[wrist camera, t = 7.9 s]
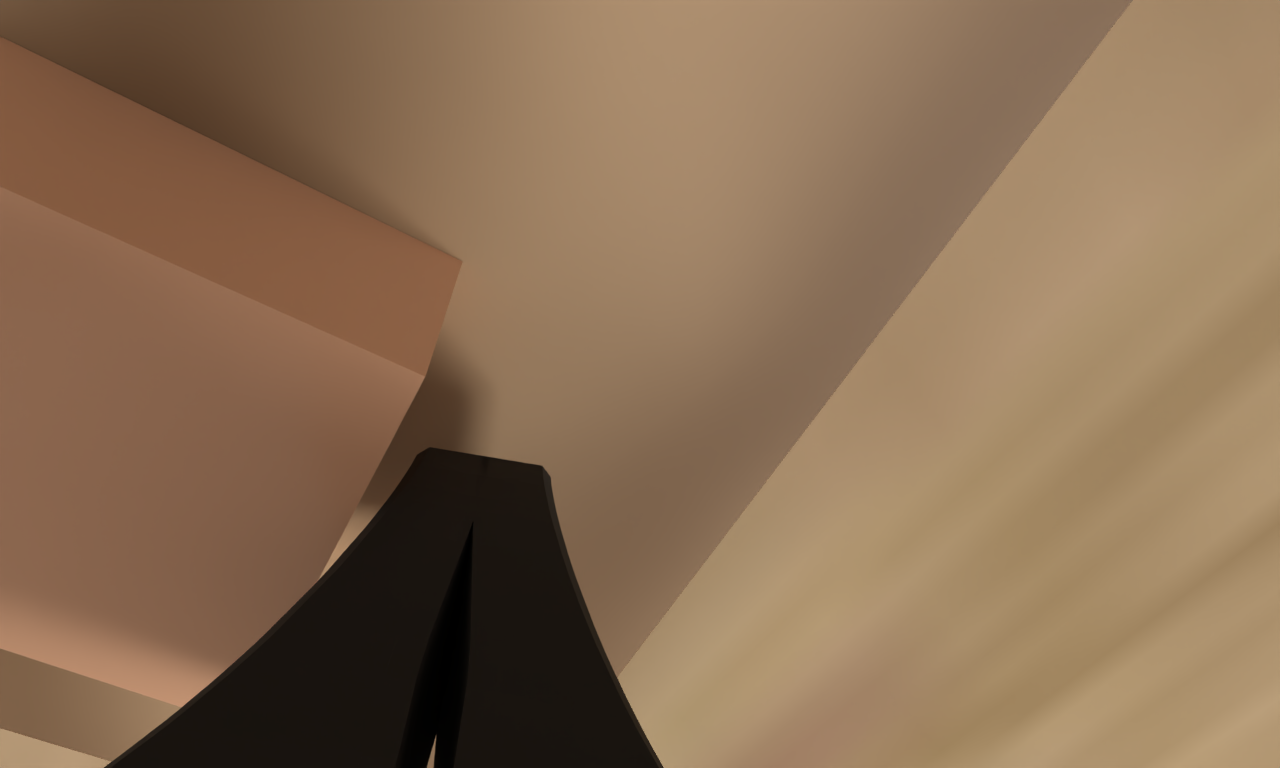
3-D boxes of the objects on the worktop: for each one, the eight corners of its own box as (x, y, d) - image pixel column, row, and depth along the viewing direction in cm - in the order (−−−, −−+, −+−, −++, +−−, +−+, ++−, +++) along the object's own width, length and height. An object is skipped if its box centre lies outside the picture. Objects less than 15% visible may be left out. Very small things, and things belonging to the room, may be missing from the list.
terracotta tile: (461, 261, 9) (425, 376, 8) (302, 572, 11) (240, 726, 10) (-30, 22, 8) (-220, 87, 6) (-114, 417, 10) (-281, 558, 8)
